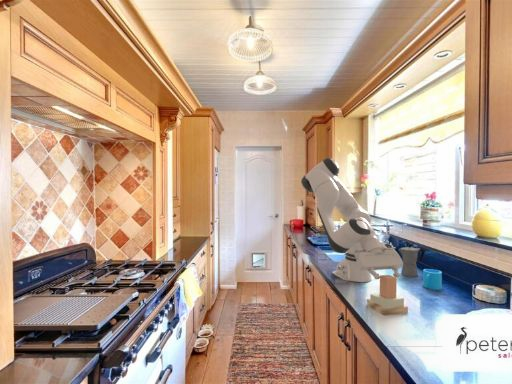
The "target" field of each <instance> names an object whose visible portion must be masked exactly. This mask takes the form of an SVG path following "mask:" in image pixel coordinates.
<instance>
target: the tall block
mask: <svg viewBox="0 0 512 384" xmlns="http://www.w3.org/2000/svg"><path fill="white" fill-rule="evenodd" d="M379 276H380V278H379V292H380V295H382V296H383V297H385V298H396V295H397V283H398V282H397V281H398V280H397V279H398V278H396V277H394V276H393V275H391V274H381V275H380V274H379Z"/></svg>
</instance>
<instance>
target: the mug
mask: <svg viewBox="0 0 512 384" xmlns="http://www.w3.org/2000/svg"><path fill="white" fill-rule="evenodd" d="M422 270H423V271H422V274H423V275H422V286H423V287H424V288H426V289H429V290H436V291H437V290H442V288H443V287H442V284H443V283H442V281H443V274H442V273H443V272H442V271H441V270H438V269H431V268H424V269H422Z"/></svg>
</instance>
